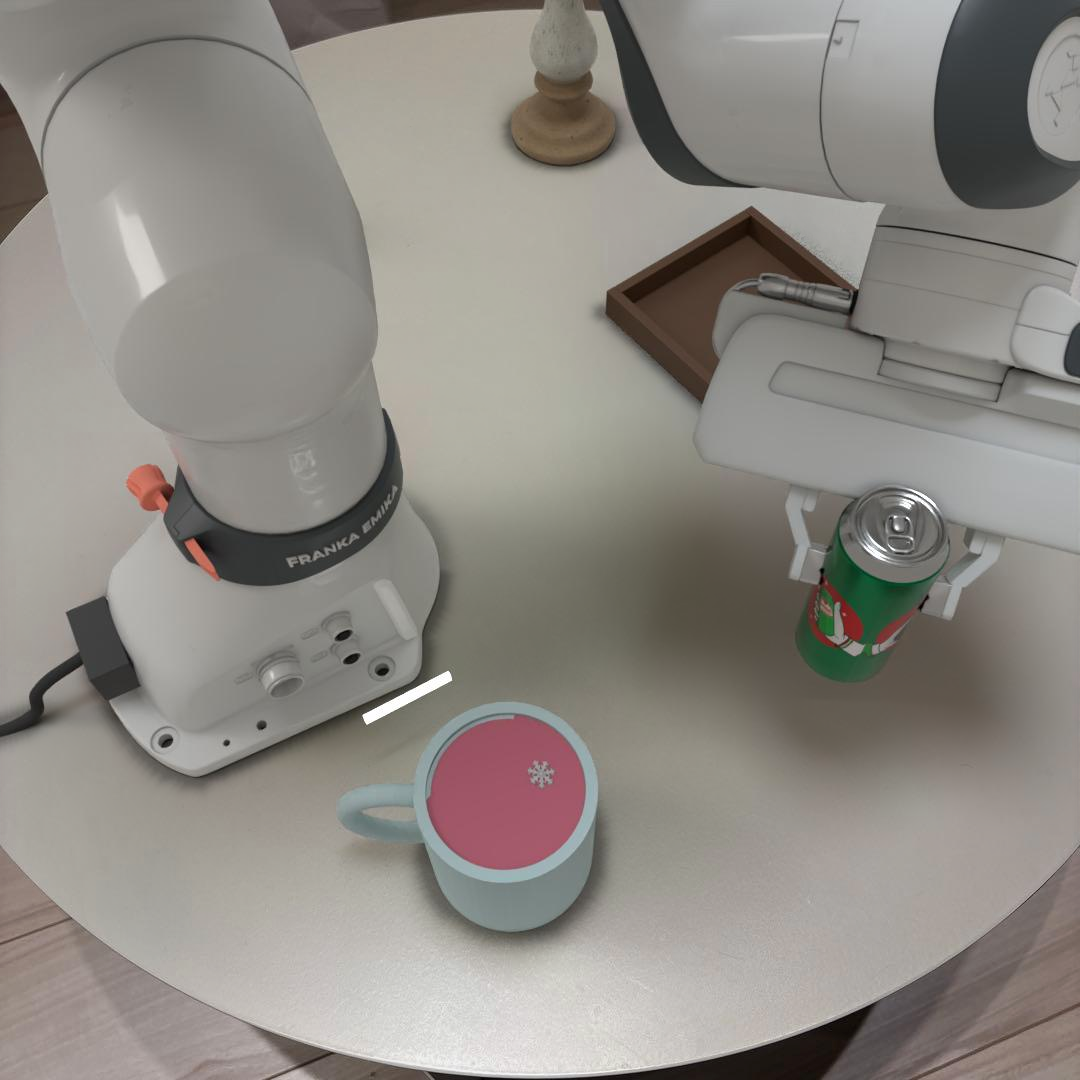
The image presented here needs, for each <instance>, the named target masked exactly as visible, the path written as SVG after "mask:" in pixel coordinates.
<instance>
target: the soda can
mask: <svg viewBox="0 0 1080 1080" xmlns="http://www.w3.org/2000/svg"><path fill="white" fill-rule="evenodd" d="M948 524H949V523H947V520H946V518H945V515H944V514H943V512H942V510H941V509H940V508H939V506H938V505H937V504H936V503H935V502H934V501H933V500H932V499H930V498H929V497H928V496H926V495H925V494H923V493H921V492H919V491H917V490H915V489H912V488H909V487H905V486H899V485H885V486H880V487H876V488H873V489H871V490H869V491H867V492H866V493H864V494H863V495H862V496H861V497H859V498H856V499H855V500H854V499H852V501H850V502H849V503H848V504H847V505H846V506H845V507H844V509H843V510H842V512H841V514H840V516H839V518H838V520H837V522H836V526H835V528H834V530H833V533H832V535H831V537H830V540H829V542H828V544H827V550H826V554H825V558H824V564H823V567H822V568H821V569H820V570H821V574H822V575H821V579H820V582H819V585H818V586H817V585H813V584H811V587H810V589H809V592H808V594H807V596H806V599H805V602H804V604H803V607H802V608H801V611H800V614H799V617H798V619H797V621H796V624H795V629H794V640H795V646H796V648H797V651H798V653H799V655H800V657H801V658H802V660H803V661H804V663H805V664H806V665H807V666H808V667H809V668H811V670H812V671H814V672H815V673H816V674H818V675H819V676H821V677H823V678H825V679H828V680H830V681H833V682H836V683H841V684H857V683H863V682H865V681H868V680H870V679H872V678H874V677H876V676H877V675H879V674H880V673H881V672H882V671H883V670H884V669H885V667H887V664H888V663H889V661H890V659H891V658H892V656H893V654H894V652H895V651H896V649H897V647H898V646H899V644H900V642H901V640H902V638H903V637H904V635H905V634H906V632H907V630H908V628H909V627H910V625H911V623H912V622H913V620H914V618H915V616H916V615H917V613H919V610H920V609H919V608H920V606H921V605H922V603H923V601H924V600H925V598H926V596H927V595H928V593H929V591H930V590H931V588H932V586H933V584H934V583H935V581H936V579H937V578H938V576H939V574H940V575H941V573H942V571H943V569H944V567H945V566H946V565H947V563H948V559H949V557H950V551H951V540H950V535H949V534H950V533H949V525H948Z"/></svg>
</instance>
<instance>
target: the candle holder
mask: <svg viewBox="0 0 1080 1080" xmlns="http://www.w3.org/2000/svg"><path fill="white" fill-rule="evenodd" d="M542 7H543V8H542V10H541V14H540V16H539V18H538V20H537V22H536V24H535V25H534V28H533V30H532V34H531V36H530V42H529V56H530V59H531V63H532V65H533V66H534V68H535V69H536V72H535V74H534V77H533V84H534V87H535V88H536V90H537V92H535V93H534V94H532V95H531V96H529V97H527V98H526V99H525V100H523V101H522V102H521V103H520V104H519V105H518V106H517V107H516V109H515V111H514V112H513V114H512V117H511V125H510V126H511V135H512V138H513V141H514V143H515V145H516V146H517V147H518V149H520V150H521V152H523V153H524V154H525V155H527V156H529V157H530V158H532V159H534V160H537V161H539V162H542V163H545V164H550V165H551V164H552V165H558V166H559V165H561V166H564V165H565V166H566V165H576V164H581V163H584V162H587V161H590V160H593V159H594V158H597V157H598V156H600V155H601V154H602V153H603V152H605V151H606V150H607V149H608V148H609V146H610V145H611V143H612V141H613V140H614V136H615V133H616V119H615V115H614V113H613V111H612V109H611V108H610V106H609V105H608V104H607V103H606V102H605V101H603V99H601V98H599V97H598V96H596V95H595V94H593V93H592V92H591V91H590V90H591V88H592V87H593V84H594V77H593V73H592V71H591V69H592V67H593V66H594V64H595V63H596V60H597V57H598V51H599V43H598V38H597V35H596V32H595V29H594V27H593V24H592V22H591V20H590V18H589V16H588V14H587V12H586V8H585V5H584V0H544V3H543V6H542Z"/></svg>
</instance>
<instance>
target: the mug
mask: <svg viewBox="0 0 1080 1080" xmlns="http://www.w3.org/2000/svg"><path fill="white" fill-rule="evenodd" d="M418 761H419V762H418V765H417V766H416V767H417V768H416V771H415V775H414V780H413V783H404V782H386V783H385V782H384V783H376V784H375V783H374V784H369V785H364V786H360V787H357V788H354V789H352V790H351V791H348V792H346V793H345V794H344V795H343V796H342V797H341V798H340V799H339V801H338V802H337V805H336V808H335V809H336V817H337V820H338V821H339V823H340V824H341V825H342V827H344V828H345V829H347V831H350V832H352V833H354V834H355V835H359V836H360V837H364V838H367V839H371V840H374V841H379V842H386V843H393V844H407V845H408V844H411V845H412V844H424V846H425V849H426V851H427V855H428V857H429V861H430V863H431V867H432V870H433V872H434V875H435V878H436V881H437V884H438V886H439V888H440V890H441V892H442V894H443V895H444V897H445V898H446V900H447V901H448V902H449V903H450V905H451V906H452V907H453V908H454V909H455V911H457V912H458V913H459V914H460V915H461V916H463V918H466V919H467V920H469V921H470V922H472V923H474V924H476V925H477V926H480V927H482V928H486V929H489V930H493V931H496V932H506V933H514V932H515V933H516V932H525V931H530V930H533V929H536V928H540V927H542V926H544V925H547V924H549V923H551V922H552V921H553V920H556V919H557V918H558V917H560V916H561V915H562V914H563V913H565V912H566V911H567V910H568V909H570V907H571V906H572V905H573V904H574V903H575V902H576V900H577V898H578V897H579V896H580V894H581V893H582V891H583V889H584V887H585V886H586V883H587V880H588V879H589V875H590V872H591V869H592V865H593V864H592V862H593V856H594V855H593V854H594V845H595V833H596V824H597V823H596V822H597V811H598V802H599V800H598V799H599V782H598V774H597V770H596V766H595V763H594V760H593V757H592V755H591V753H590V751H589V749H588V746H587V745H586V743H585V742H584V740H583V739H582V737H581V736H580V735H579V733H578V732H576V730H575V729H574V728H573V727H572V726H571V725H570V724H569V723H568V722H566V721H565V720H564V719H563V718H561V717H560V716H558V715H556V714H555V713H553V712H551V711H549V710H547V709H545V708H542V707H540V706H537V705H534V704H531V703H525V702H521V701H520V702H519V701H497V702H490V703H484V704H481V705H478V706H475V707H472V708H470V709H468V710H466V711H464V712H462V713H460V714H458V715H457V716H455V717H454V718H453V719H451V720H450V721H448V722H447V723H446V724H444V725H443V726H442V727H441V728H440V729H439V730H438V731H437V732H436V734H435V735H434V736H432V738H431V740H430V741H429V743H428V744H427V745H426V747H425V749H424V751H422V754H421V757H420V759H419V760H418ZM387 807H388V808H391V807H395V808H396V807H397V808H412V809H414V814H415V816H416V821H403V820H401V821H400V820H392V819H384V818H381V817H380V818H379V817H376V816H373V815H370V814H367V813H364V812H363V811H366V810H369V809H376V808H377V809H378V808H387Z"/></svg>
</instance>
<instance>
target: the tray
mask: <svg viewBox="0 0 1080 1080" xmlns="http://www.w3.org/2000/svg"><path fill="white" fill-rule="evenodd" d="M761 273H773V274H779V275H783V276H786V277H789V279H792V280H796V281H798V282H799V281H801V282H804V283H805V282H807V283H810V284H811V283H815V284H825V285H830V286H834V287H839V288H844V289H849V290H853V291H856V290H857V289H858V288H856V287H855V286H854V285H852V284H851V283H850V282H849V281H847V280H846V279H845V278H843V277H842V276H841V275H840V274H838V273H837V272H836V271H835V270H834V269H832V268H831V267H830V266H828V265H827V264H826V263H825V262H823V261H822V260H821V259H819V258H818V257H817V255H815V254H814V253H812V252H811V251H809V250H808V249H807V248H806V247H804V246H803V245H802V244H801V243H799V241H798V240H795V238H793V237H792V236H791V235H789V234H788V233H787V232H786V231H785V230H783V229H782V228H781V227H779V226H778V225H777V224H776V223H775V222H773V221H772V220H771V219H769V218H768V217H767V216H766V215H764V214H763V213H762V212H761V211H759V210H758V209H757V208H756V207H755V206H753V205H750V206H749V207H747V208H745V209H744V210H741V211H740V212H738V213H736V214H735V215H734V216H732V217H729V219H726V220H724V221H723V222H722V223H720V224H718V225H717V226H715V227H713V228H711V229H710V230H708V231H706V232H705V233H703V234H701V235H700V236H698V237H696V238H694V239H693V240H691V241H689V242H688V243H686V244H684V245H682V246H681V247H679V248H678V249H676V250H674V251H672V252H671V253H669V254H667V255H666V256H664V257H662V258H661V259H659V260H657V261H655V262H654V263H651V264H650V265H649V266H647V267H645V268H643V269H642V270H640V271H638V272H637V273H635V274H633V275H632V276H630V277H628V278H626V279H625V280H623V281H622V282H620V283H618V284H616V285H615V286H613V287H610V289H607V290H606V294H605V295H606V298H605V314H606V315H607V316H608V317H609V318H610V319H611V320H612V321H613V322H614V323H615V324H616V325H617V326H618V327H620V328H621V330H623V332H625V333H626V334H627V335H628V336H629V337H630V338H632V340H633V341H635V343H637V344H638V345H639V346H640V347H641V348H642V349H643V350H644V351H646V353H648V354H649V355H650V356H651V357H652V358H653V359H654V360H655V361H656V362H658V364H660V366H662V367H663V368H664V369H665V370H666V371H667V372H668V373H669V374H670V375H671V376H672V377H673V378H675V380H677V381H678V382H679V383H680V384H681V385H682V386H684V388H685V389H687V390H688V391H689V392H690V393H691V394H692V395H693V396H694V397H695V398H696V399H698V401H699V402H701V403H702V404H703V401H704V398H705V396H706V393H707V390H708V388H709V385H710V383H711V380H712V378H713V375H714V373H715V371H716V368H717V366H718V364H719V362H720V359H719V358H718V356H717V355H716V353H715V350H714V347H713V342H712V333H713V328H714V324H715V320H716V316H717V312H718V308H719V305H720V302H721V300H722V298H723V296H724V295H725V294H726V292H727V291H728V290H729V289H730V288H731V287H732V286H734V285H735V284H737V283H739V282H741V281H744V280H748V279H759V278H760V275H761ZM756 290H757V287H753V288H747V289H744V290H742V291H740V292H744V293H748V294H753V295H757V296H762V295H760V294H758V293H757V292H756ZM762 297H764V296H762ZM766 298H767V297H766ZM780 301H782V300H780ZM783 301H784V302H789V303H793V304H798V305H802V306H807V305H805V304H801V303H800V302H794V301H789V300H784V299H783ZM807 307H811V306H807ZM811 308H813V307H811ZM843 315H844V314H843ZM847 316H848V320H847V324H846V327H845V329H849V330H853V331H857V332H862V331H858V330H854V329H851V328H850V327H849V326H848V323H849V320H850V317H851V314H850V312H849V313H848V315H847ZM862 333H866V332H862ZM866 334H868V333H866Z"/></svg>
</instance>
